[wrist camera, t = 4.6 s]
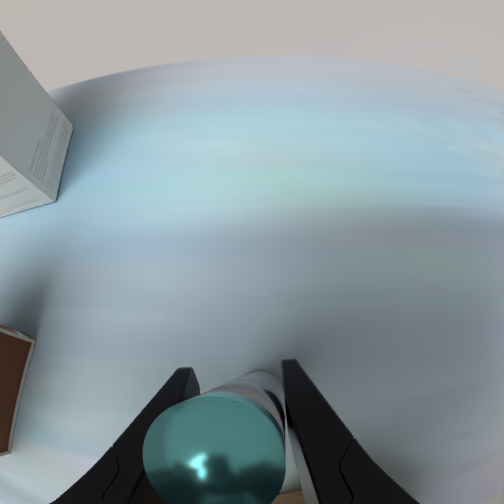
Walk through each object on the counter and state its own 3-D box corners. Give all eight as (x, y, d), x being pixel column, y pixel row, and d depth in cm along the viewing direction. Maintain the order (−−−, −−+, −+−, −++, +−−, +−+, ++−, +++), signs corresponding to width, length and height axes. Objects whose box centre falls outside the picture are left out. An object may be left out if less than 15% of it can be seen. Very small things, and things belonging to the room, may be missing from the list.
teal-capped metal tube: (293, 386, 15) (314, 445, 4) (267, 426, 14) (235, 543, 4) (251, 361, 15) (186, 369, 5) (225, 401, 15) (121, 471, 4)
